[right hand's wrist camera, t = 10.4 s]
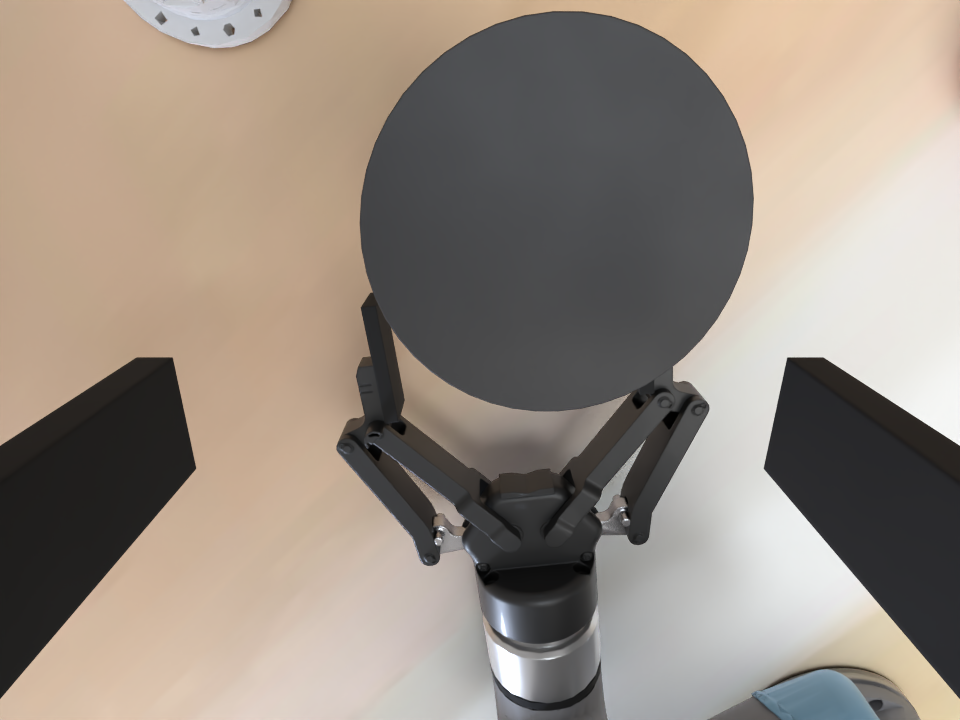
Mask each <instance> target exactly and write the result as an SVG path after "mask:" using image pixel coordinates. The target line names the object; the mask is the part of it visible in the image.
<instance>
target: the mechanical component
mask: <svg viewBox="0 0 960 720" xmlns="http://www.w3.org/2000/svg"><path fill="white" fill-rule="evenodd" d="M124 1H125V2H126V3H127V4H128V5H129V6H130V7H131V8H132V9H133V10H134V11H135V12H136V13H137V14H138V15H139V16H140V17H141V18H142V19H143V20H145V21H146V22H148V23H149V24H151V25H152V26H153V27H155V28H156V29H158V30H159V31H161V32H163V33H165V34H167V35H170V36H172V37H175V38H177V39H179V40H182V41H184V42H186V43H191V44H196V45H201V46H206V47H211V48H225V47H235V46H238V45H242V44H245V43H248V42H251V41H253V40H255V39H256V38H258V37H259V36H261V35H263V34H264V33H266V32H267V31H269V30H270V29H271V28H272V27H273V25H274V24H275V23H276V22H277V21H278V20H279V19H280V18H281V16H282V15H283V14H284V13H285V12H286V11H287V10H288V8H289V6H290V3H291V1H292V0H124ZM261 14H262V17H261ZM166 20H168V21H166ZM165 21H166V22H165ZM233 28H235V32H234V35H233V32H232V29H233Z"/></svg>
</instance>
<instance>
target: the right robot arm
mask: <svg viewBox="0 0 960 720" xmlns="http://www.w3.org/2000/svg"><path fill="white" fill-rule="evenodd" d="M195 469H196V465H195V461H194V456H193V451H192V446H191V442H190V437H189V432H188V428H187V423H186V418H185V413H184V409H183V404H182V399H181V395H180V390H179V385H178V381H177V376H176V371H175V366H174V362H173V358H135V359H134V360H132V361H131V362H129V363H128V364H126V365H124V366H123V367H121V368H120V369H118V370H117V371H115V372H114V373H112V374H111V375H109V376H107V377H106V378H104V379H103V380H101V381H100V382H98V383H97V384H95V385H94V386H92V387H90V388H89V389H87V390H86V391H84V392H83V393H81V394H80V395H78V396H77V397H75V398H73V399H72V400H70V401H69V402H67V403H66V404H64V405H63V406H61V407H60V408H58V409H56V410H55V411H53V412H52V413H50V414H49V415H47V416H46V417H44V418H43V419H41V420H39V421H38V422H36V423H35V424H33V425H32V426H30V427H29V428H27V429H26V430H24V431H22V432H21V433H19V434H18V435H16V436H15V437H13V438H12V439H10V440H9V441H7V442H5V443H4V444H2V445H1V446H0V698H1V697H2V696H3V695H4V694H5V693H6V691H7V690H8V689H9V688H10V687H11V686H12V684H13V683H14V682H15V681H16V680H17V678H18V677H19V676H20V675H21V674H22V673H23V671H24V670H25V669H26V668H27V667H28V666H29V664H30V663H31V662H32V661H33V660H34V659H35V657H36V656H37V655H38V654H39V653H40V651H41V650H42V649H43V648H44V647H45V646H46V644H47V643H48V642H49V641H50V640H51V639H52V637H53V636H54V635H55V634H56V633H57V632H58V630H59V629H60V628H61V627H62V626H63V624H64V623H65V622H66V621H67V620H68V619H69V617H70V616H71V615H72V614H73V613H74V612H75V610H76V609H77V608H78V607H79V606H80V605H81V603H82V602H83V601H84V600H85V599H86V597H87V596H88V595H89V594H90V593H91V592H92V590H93V589H94V588H95V587H96V586H97V585H98V583H99V582H100V581H101V580H102V579H103V578H104V576H105V575H106V574H107V573H108V572H109V570H110V569H111V568H112V567H113V566H114V565H115V563H116V562H117V561H118V560H119V559H120V558H121V556H122V555H123V554H124V553H125V552H126V551H127V549H128V548H129V547H130V546H131V545H132V543H133V542H134V541H135V540H136V539H137V538H138V536H139V535H140V534H141V533H142V532H143V531H144V529H145V528H146V527H147V526H148V525H149V524H150V522H151V521H152V520H153V519H154V518H155V516H156V515H157V514H158V513H159V512H160V511H161V509H162V508H163V507H164V506H165V505H166V504H167V502H168V501H169V500H170V499H171V498H172V496H173V495H174V494H175V493H176V492H177V491H178V489H179V488H180V487H181V486H182V485H183V484H184V482H185V481H186V480H187V479H188V478H189V477H190V475H191V474H192V473H193V472H194V471H195ZM764 469H765V471H766V472H767V473H768V474H769V475H770V477H771V478H772V479H773V480H774V481H775V482H776V484H777V485H778V486H779V487H780V488H781V489H782V491H783V492H784V493H785V494H786V495H787V496H788V498H789V499H790V500H791V501H792V502H793V504H794V505H795V506H796V507H797V508H798V509H799V511H800V512H801V513H802V514H803V515H804V516H805V518H806V519H807V520H808V521H809V522H810V524H811V525H812V526H813V527H814V528H815V529H816V531H817V532H818V533H819V534H820V535H821V536H822V538H823V539H824V540H825V541H826V542H827V543H828V545H829V546H830V547H831V548H832V549H833V551H834V552H835V553H836V554H837V555H838V556H839V558H840V559H841V560H842V561H843V562H844V563H845V565H846V566H847V567H848V568H849V569H850V570H851V572H852V573H853V574H854V575H855V576H856V578H857V579H858V580H859V581H860V582H861V583H862V585H863V586H864V587H865V588H866V589H867V590H868V592H869V593H870V594H871V595H872V596H873V597H874V599H875V600H876V601H877V602H878V603H879V605H880V606H881V607H882V608H883V609H884V610H885V612H886V613H887V614H888V615H889V616H890V617H891V619H892V620H893V621H894V622H895V623H896V624H897V626H898V627H899V628H900V629H901V630H902V632H903V633H904V634H905V635H906V636H907V637H908V639H909V640H910V641H911V642H912V643H913V644H914V646H915V647H916V648H917V649H918V650H919V651H920V653H921V654H922V655H923V656H924V657H925V659H926V660H927V661H928V662H929V663H930V664H931V666H932V667H933V668H934V669H935V670H936V671H937V673H938V674H939V675H940V676H941V677H942V678H943V680H944V681H945V682H946V683H947V684H948V686H949V687H950V688H951V689H952V690H953V691H954V693H955V694H956V695H957V696H958V697H959V698H960V446H959V445H958V444H956V443H955V442H953V441H951V440H950V439H948V438H947V437H945V436H944V435H942V434H941V433H939V432H938V431H936V430H934V429H933V428H931V427H930V426H928V425H927V424H925V423H924V422H922V421H921V420H919V419H917V418H916V417H914V416H913V415H911V414H910V413H908V412H907V411H905V410H904V409H902V408H900V407H899V406H897V405H896V404H894V403H893V402H891V401H890V400H888V399H887V398H885V397H883V396H882V395H880V394H879V393H877V392H876V391H874V390H873V389H871V388H870V387H868V386H866V385H865V384H863V383H862V382H860V381H859V380H857V379H856V378H854V377H853V376H851V375H849V374H848V373H846V372H845V371H843V370H842V369H840V368H839V367H837V366H836V365H834V364H832V363H831V362H829V361H828V360H826V359H825V358H787V362H786V366H785V371H784V376H783V381H782V385H781V390H780V395H779V399H778V404H777V409H776V413H775V418H774V423H773V428H772V432H771V437H770V442H769V446H768V451H767V456H766V461H765V465H764Z"/></svg>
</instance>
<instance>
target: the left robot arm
mask: <svg viewBox="0 0 960 720" xmlns="http://www.w3.org/2000/svg"><path fill="white" fill-rule="evenodd" d="M361 311H362V316H363V321H364V325H365V330H366V335H367V340H368V345H369V349H370V354H371V357H363V358H362V360H361V362H360V364H359V366H358V370H357V375H356V378H357V382H358V386H359V392H360V396H361V401H362V405H363V410H364V414H365V415H364V416H363V417H361V418H359V419H358V418H353V419H350V420H349V421H348V422H347V423H346V426H345V428H344V430H343V432H342V434H341V437H340V439H339V441H338V444H337V451H338V453H339V454H340V455H341V456H342V458H343V459H344V460H345V461H346V462H347V463H348V465H349V466H350V467H351V468H352V469H353V470H354V471H355V473H356V474H357V475H358V476H359V477H360V478H361V479H362V481H363V482H364V483H365V484H366V485H367V486H368V487H369V489H370V490H371V491H372V492H373V493H374V494H375V496H376V497H377V498H378V499H379V500H380V501H381V502H382V504H383V505H384V506H385V507H386V508H387V509H388V510H389V512H390V513H391V514H392V515H393V516H394V517H395V518H396V520H397V521H398V522H399V523H400V524H401V525H402V526H403V528H404V529H405V530H406V531H407V532H408V533H409V535H410V536H411V537H412V538H413V541H414V544H415V547H416V550H417V553H418V555H419V558H420V561H421V562H422V563H423V564H424V565H427V566H433V565H435V564H437V563H438V562H439V560H440V554H441V553H446V552H451V551H456V550H461V549H465V550H466V552H467V553H468V554H469V555H470V556H471V557H472V559H473V561H474V566H475V573H476V579H477V585H478V591H479V598H480V604H481V609H482V612H483V624H484V630H485V636H486V642H487V647H488V653H489V659H490V665H491V670H492V674H493V681H494V689H495V698H496V706H497V715H498V720H607V715H606V710H605V703H604V695H603V685H602V675H601V643H600V627H599V612H598V604H597V600H598V597H597V578H596V561H595V547H596V544H597V542H598V540H599V539H600V537H601V535H627V536H628V539H629V541H630V542H631V543H632V544H634V545H641V544H643V543H645V542H646V541H647V540H648V538H649V532H650V524H651V516H652V512H653V510H654V508H655V507H656V505H657V503H658V501H659V499H660V498H661V496H662V494H663V492H664V491H665V489H666V487H667V485H668V483H669V482H670V480H671V478H672V476H673V475H674V473H675V471H676V469H677V467H678V466H679V464H680V462H681V460H682V458H683V457H684V455H685V453H686V451H687V450H688V448H689V446H690V444H691V442H692V441H693V439H694V437H695V435H696V433H697V432H698V430H699V428H700V426H701V425H702V423H703V421H704V419H705V417H706V416H707V414H708V412H709V405H708V403H707V402H706V401H705V399H704V398H703V397H702V396H701V395H700V394H699V392H698V391H697V390H696V389H695V388H694V387H693V385H692V384H691V383H689V382H686V381H682V382H679V383H678V382H674V381H673V367H672V368H670V369H669V370H668V371H667V372H665V373H664V374H662V375H661V376H659V377H658V378H656V379H654V380H653V381H651V382H650V383H648V384H647V385H645V386H643V387H641V388H639V389H637V390H635V391H633V392H632V393H631V394H630V395H629V396H628V397H627V399H626V400H625V401H624V402H623V404H622V405H621V406H620V407H619V408H618V410H617V411H616V412H615V413H614V414H613V416H612V417H611V418H610V419H609V420H608V422H607V423H606V424H605V425H604V426H603V428H602V429H601V430H600V431H599V432H598V434H597V435H596V436H595V437H594V439H593V440H592V441H591V442H590V443H589V445H588V446H587V447H586V448H585V449H584V451H583V452H582V453H581V454H580V455H579V456H578V457H574V458H572V459H571V460H570V462H569V463H568V464H567V465H566V466H565V468H564V469H563V470H562V471H561V472H560V474H556V473H552V472H551V471H550V469H542V470H536V471H533V472H530V473H527V474H517V473H505V474H499V478H498V479H495V480H494V481H492V482H491V481H490V480H488V479H487V478H486V477H485V476H483V475H482V474H481V473H480V472H478V471H477V470H476V469H474V468H467V467H466V466H465V465H464V464H462V463H461V462H460V461H459V460H457V459H456V458H455V457H453V456H452V455H451V454H450V453H448V452H447V451H446V450H444V449H443V448H442V447H441V446H439V445H438V444H437V443H436V442H434V441H433V440H432V439H430V438H429V437H428V436H427V435H425V434H424V433H423V432H422V431H420V430H419V429H418V428H416V427H415V426H414V425H413V424H411V423H410V422H409V421H408V420H406V419H405V418H404V417H402V416H401V412H402V408H403V404H404V394H403V389H402V384H401V379H400V373H399V368H398V363H397V357H396V352H395V347H394V342H393V336H392V331H391V326H390V325H389V323H388V322H387V320H386V319H385V317H384V315H383V313H382V311H381V309H380V307H379V305H378V303H377V301H376V299H375V296H374V293H370V294H369V296H368V297H367V299H366V300H365V302H364V303H363V305H362V306H361ZM646 438H647V439H646ZM645 439H646V441H645ZM644 441H645V443H644V444H643V446H642V448H641V450H640V452H639V454H638V456H637V458H636V460H635V462H634V463H633V465H632V467H631V469H630V471H629V473H628V475H627V477H626V479H625V481H624V483H623V487H622V490H621V496H620V495H615V496H614V497H613V501H612V502H611V504H610V507H609V508H608V509H607V510H606V511H604V512H598V511H597V510H596V508H595V507H594V506H595V504H596V503H597V502H598V501H599V499H600V497H601V493H602V490H603V488H604V487H605V486H606V484H607V483H608V482H609V481H610V480H611V479H612V477H613V476H614V475H615V474H616V473H617V472H618V471H619V469H620V468H621V467H622V466H623V465H624V464H625V463H626V461H627V460H628V459H629V458H630V457H631V456H632V454H633V453H634V452H635V451H636V450H637V449H638V448H639V446H640V445H641V444H642V443H643V442H644ZM399 463H400V464H401V465H402V466H404V467H405V468H406V469H408V470H409V471H410V472H412V473H413V474H414V475H415V476H417V477H418V478H419V479H421V480H422V481H423V482H425V483H426V484H427V485H429V486H430V487H431V488H433V489H434V490H435V491H437V492H438V493H439V494H441V495H442V496H443V497H445V498H446V499H447V500H449V501H450V502H451V503H453V504H454V506H455V507H456V509H457V511H458V513H459V514H460V515H461V516H462V517H464V518H465V520H464V522H463V525H462V526H461V527H457V526H453V525H452V524H450V522H449V521H448V519H446V518H445V515H444V514H442V513H439V514H436V512H435V509H434V507H433V506H432V504H431V502H430V501H429V500H428V498H427V497H426V496H425V495H424V493H423V492H422V491H421V490H420V489H419V487H418V486H417V485H416V484H415V483H414V481H413V480H412V479H411V478H410V477H409V475H408V474H407V473H406V472H405V471H404V469H403V468H402V467H401V466H400V465H399ZM751 694H752V696H753V697H752V698H750V699H748V700H746V701H744V702H742V703H740V704H738V705H736V706H734V707H732V708H730V709H728V710H726V711H724V712H722V713H720V714H718V715H716V716H714V717H712V718H710V719H708V720H920V718H919V716H918V714H917V712H916V711H915V709H914V707H913V706H912V705H911V703H910V702H909V701H908V699H907V698H906V697H905V696H904V694H903V693H902V692H901V690H900V689H899V688H898V687H897V686H896V685H895V684H894V683H892V682H891V681H890V680H888V679H886V678H884V677H882V676H880V675H878V674H875V673H872V672H869V671H865V670H859V669H851V668H831V669H822V670H816V671H811V672H807V673H804V674H800V675H797V676H795V677H792V678H789V679H787V680H785V681H783V682H781V683H778V684H777V685H775V686H773V687H771V688H768V689H765V690H762V691H756V692H753V693H751Z"/></svg>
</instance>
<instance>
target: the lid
mask: <svg viewBox="0 0 960 720" xmlns="http://www.w3.org/2000/svg"><path fill="white" fill-rule="evenodd" d="M753 201H754V197H753V184H752V172H751V167H750V163H749V158H748V153H747V149H746V145H745V142H744V139H743V137H742V134H741V131H740V128H739V126H738V123H737V120H736V118H735V116H734V115H733V113H732V111H731V109H730V107H729V105H728V104H727V102H726V100H725V98H724V96H723V95H722V93H721V92H720V91H719V89H718V88H717V87H716V85H715V84H714V83H713V82H712V80H711V79H710V78H709V76H708V75H707V74H706V73H705V72H704V71H703V70H702V69H701V68H700V67H699V66H698V65H697V64H696V63H695V62H694V61H693V60H692V59H691V58H690V57H689V56H688V55H687V54H686V53H684V52H683V51H682V50H680V49H679V48H677V47H676V46H675V45H673V44H672V43H670V42H669V41H668V40H666V39H665V38H663V37H661V36H659V35H657V34H655V33H653V32H651V31H649V30H648V29H646V28H644V27H642V26H640V25H637V24H634V23H631V22H628V21H625V20H622V19H619V18H616V17H612V16H607V15H601V14H595V13H589V12H582V11H552V12H545V13H538V14H531V15H524V16H521V17H518V18H514V19H511V20H508V21H504V22H501V23H498V24H495V25H493V26H491V27H488V28H486V29H484V30H482V31H480V32H478V33H476V34H473V35H471V36H469V37H468V38H466V39H465V40H463V41H461V42H460V43H458V44H457V45H455V46H454V47H452V48H451V49H449V50H448V51H446V52H445V53H443V54H442V55H441V56H440V57H439V58H438V59H437V60H435V61H434V62H433V63H432V64H431V65H430V66H428V67H427V68H426V69H425V70H424V71H423V72H422V73H421V74H420V75H419V76H418V77H417V79H416V80H415V81H414V82H413V83H412V84H411V85H410V87H409V88H408V89H407V90H406V91H405V92H404V93H403V95H402V96H401V98H400V99H399V101H398V102H397V104H396V105H395V107H394V108H393V110H392V112H391V113H390V115H389V116H388V118H387V120H386V122H385V124H384V126H383V128H382V130H381V132H380V134H379V136H378V138H377V140H376V142H375V145H374V148H373V151H372V154H371V157H370V160H369V163H368V166H367V169H366V174H365V179H364V185H363V190H362V195H361V210H360V233H361V247H362V253H363V258H364V263H365V268H366V273H367V276H368V279H369V282H370V285H371V288H372V290H373V293H374V296H375V299H376V301H377V303H378V305H379V307H380V309H381V311H382V313H383V315H384V317H385V319H386V320H387V322H388V323H389V325H390V326H391V328H392V329H393V331H394V332H395V334H396V335H397V337H398V338H399V340H400V341H401V342H402V343H403V344H404V345H405V347H406V348H407V349H408V350H409V351H410V352H411V353H412V355H413V356H414V357H415V358H416V359H418V360H419V361H420V362H421V363H422V364H423V365H424V366H425V367H426V368H428V369H429V370H430V371H431V372H432V373H434V374H435V375H437V376H438V377H439V378H441V379H442V380H444V381H445V382H447V383H448V384H450V385H451V386H453V387H455V388H457V389H459V390H461V391H463V392H465V393H467V394H469V395H471V396H473V397H476V398H479V399H481V400H484V401H487V402H489V403H492V404H497V405H501V406H505V407H509V408H513V409H521V410H530V411H564V410H572V409H581V408H585V407H589V406H594V405H598V404H602V403H605V402H608V401H611V400H613V399H616V398H619V397H622V396H625V395H627V394H629V393H631V392H633V391H635V390H637V389H639V388H641V387H643V386H645V385H647V384H648V383H650V382H651V381H653V380H654V379H656V378H658V377H659V376H661V375H662V374H664V373H665V372H667V371H668V370H669V369H670V368H672V367H673V366H674V365H675V364H676V363H678V362H679V361H680V360H681V359H683V358H684V357H685V356H686V355H687V354H688V353H689V352H690V351H691V350H692V349H693V348H694V347H695V346H696V345H697V344H698V342H699V341H700V340H701V339H702V338H703V337H704V336H705V334H706V333H707V332H708V330H709V329H710V328H711V326H712V325H713V324H714V323H715V321H716V320H717V318H718V317H719V315H720V313H721V312H722V310H723V308H724V307H725V305H726V303H727V302H728V300H729V298H730V296H731V294H732V292H733V289H734V287H735V285H736V283H737V281H738V278H739V276H740V273H741V270H742V267H743V264H744V261H745V257H746V254H747V251H748V246H749V240H750V235H751V229H752V221H753Z"/></svg>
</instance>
